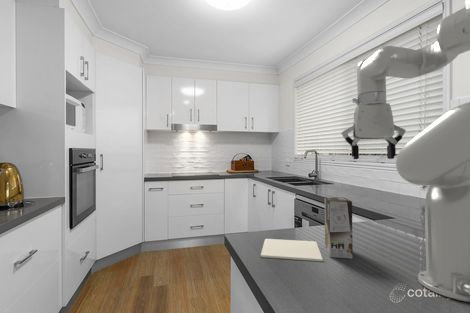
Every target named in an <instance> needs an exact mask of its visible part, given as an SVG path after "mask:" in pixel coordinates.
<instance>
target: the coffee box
mask: <svg viewBox="0 0 470 313" xmlns="http://www.w3.org/2000/svg"><path fill="white" fill-rule="evenodd" d="M324 235H325V236H324V237H325V238H324V240H325V241H324V242H325V243H324V244H325V249H326V251H327V254H328V256H329V257H330V258H340V259H349V260H352V259H353V258H354V257H353V256H354V255H353V252H354V251H353V249H354V248H353V201H352V200H350V199H349V198H346V197H341V196H340V197H324Z"/></svg>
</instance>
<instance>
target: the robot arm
mask: <svg viewBox="0 0 470 313" xmlns="http://www.w3.org/2000/svg"><path fill="white" fill-rule="evenodd" d="M439 22H440V23H439V24H438V26H437V28H436V41H434V42H431V43H430V44H427V45H425V46H423V47H421V48H418V49H413V48H409V47H408V48H407V47H401V46H397V45H386V46H382V47H381V48H378V50H376V51H375V52H374V53H373V54H372V55H370V57H368V58H364V59H362V60H361V61H360V62H359V63H358V64H357V65H356V80H357V81H356V83H357V84H356V87H357V88H356V89H357V92H356V94H357V96H356V97H355V98H354V97H353V98H352V104H356V106H355V109H354V114H353V125H352V126H350V127H348V128H346V129H344V130H343V131H341V136H342V137H343V139H344V140H345V142H346V143H347V144H349V146H350V147H351V157H353V160H358V159H359V158H360V157H359V156H360V155H359V154H360V153H359V149H360V148H359V145H358V143H359V142H360V141H361V140H384V141H385V142H386V143H387V144H388V145H387V146H386V156H387V159H388V160H393V159H395V156H396V151H397V149H396V145H397V144H398V143H399V142H400V141H401V140H402V139H403V137H404V136H405V134H406V131H407V130H406V129H405V128H403V127H400V126H398V125H396V124H395V123H394V116H393V111H392V107H391V104H390V103H388V102H387V77H391V78H398V79H399V78H400V79H414V78H418V77H421V76H425V75H428V74H429V73H430V74H431V73H433V72H436V71H438V70H441V69H443V68H445V67H446V66H447V65H449V64H450V63H452V62H453V61H454V60H455V59H456V58H457V57H458V56H459V55H461V54H463V53H467V52H468V51H470V0H465V2H464V7H462V8H461V9H459V10H456V11H455V12H453V13H451V14H449V15H447V16H445V17H444V18H443V19H442V20H441V21H439ZM351 132H352V136H353V138H351V137H350V135H349V133H351ZM395 132H396V133H397V134H396V136H395V137H394V135H395ZM395 167H396V170H397V173H398V174H399V176H400V177H401V178H402V179H403V180H405V181H406V182H407V183H410V184H413V185H418V186H428V188H427V192H426V195H425V199H424V200H425V201H424V225H425V226H424V229H425V230H424V231H425V262H426V263H425V266H426V267H425V270H422V271H419V273H418V275H417V280H418V282H419V283H420V285H422V286H423V287H424V288H426V289H428V290H429V291H431V292H434V293H436V294H438V295H441V296H444V297H447V298H450V299H452V300H458V301H462V302H467V303H470V102H469V101H468V102H465V103H463V104H459V105H457V106H455V107H453V108H451V109H450V110H448V111H446V112H445V113H443V114H442V115H441V116H440V117H438V118H436V120H434V121H433V122H432V123H430V124H429V125H428V126H427V127H425V128H424V129H423V130H422V131H420V132H419V133H418V134H416V135H415V136H414V137H413V138H411V139H410V140H409V141H408V142H406V144H404V146H402V148H401V149H400V150H399V152H398V154H397V156H396V161H395Z"/></svg>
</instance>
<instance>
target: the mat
mask: <svg viewBox="0 0 470 313" xmlns="http://www.w3.org/2000/svg"><path fill="white" fill-rule="evenodd" d="M260 258H268V259H269V258H270V259H283V260H294V261H295V260H298V261H308V262H309V261H311V262H324V258H323V256H322V254H321V251H320V248H319V246H318V242H317V241H313V240H295V239H281V238H280V239H278V238H277V239H275V238H265V239H264V242H263V245H262V248H261V253H260Z"/></svg>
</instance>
